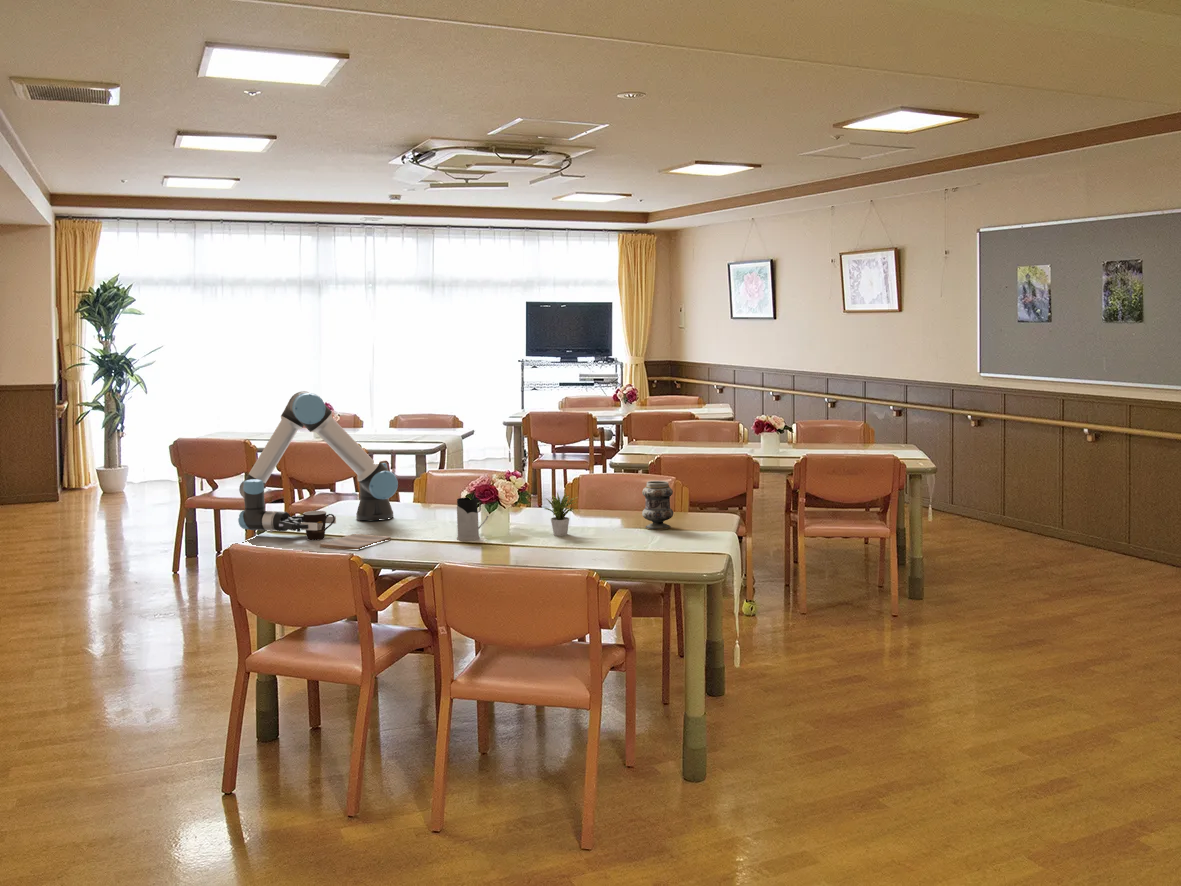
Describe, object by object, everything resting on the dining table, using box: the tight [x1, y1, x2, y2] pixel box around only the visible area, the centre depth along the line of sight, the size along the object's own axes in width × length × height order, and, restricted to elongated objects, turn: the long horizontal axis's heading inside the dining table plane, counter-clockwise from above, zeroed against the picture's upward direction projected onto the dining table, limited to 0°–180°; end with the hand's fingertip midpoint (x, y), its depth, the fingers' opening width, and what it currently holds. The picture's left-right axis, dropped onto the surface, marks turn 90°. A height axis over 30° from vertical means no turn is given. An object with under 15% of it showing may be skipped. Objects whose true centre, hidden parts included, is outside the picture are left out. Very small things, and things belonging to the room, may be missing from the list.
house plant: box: [544, 492, 578, 537], centre depth 418 cm, size 14×14×16 cm
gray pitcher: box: [456, 497, 489, 542], centre depth 417 cm, size 9×14×15 cm, turn 127°
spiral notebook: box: [319, 533, 392, 550], centre depth 410 cm, size 20×17×1 cm
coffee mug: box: [302, 510, 335, 541], centre depth 420 cm, size 12×9×10 cm
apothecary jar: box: [641, 480, 674, 531], centre depth 429 cm, size 12×12×18 cm
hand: (326, 523), depth 419 cm, fingers open, 13 cm apart
